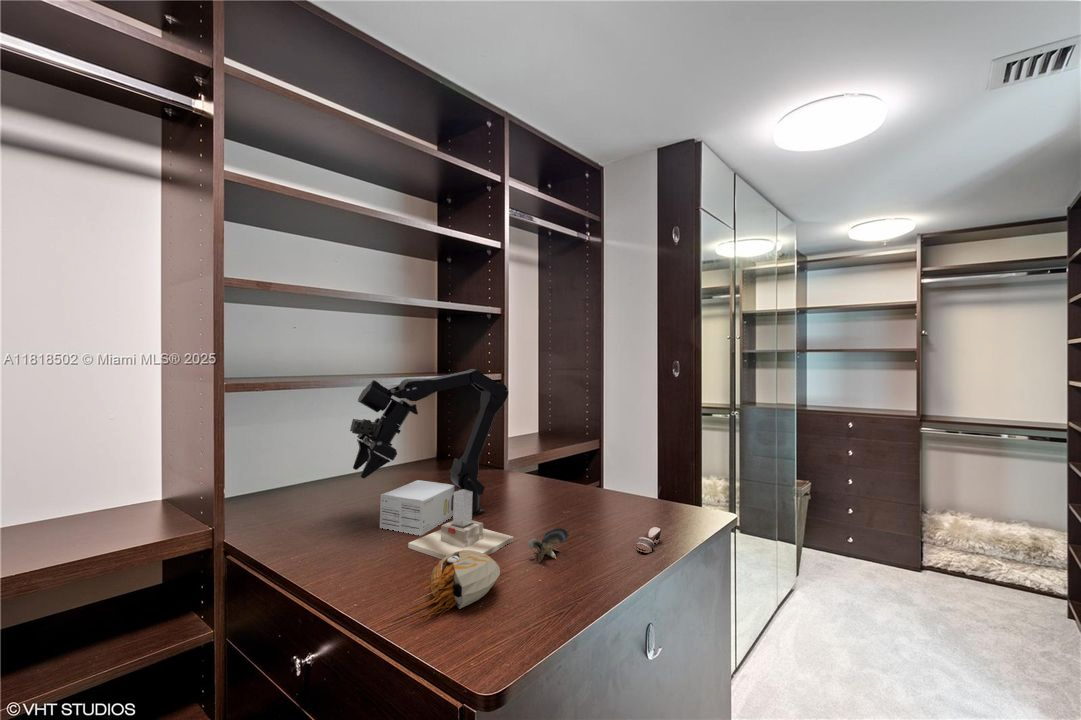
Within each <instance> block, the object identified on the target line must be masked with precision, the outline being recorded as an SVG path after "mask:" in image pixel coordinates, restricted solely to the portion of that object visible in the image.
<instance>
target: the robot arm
mask: <svg viewBox="0 0 1081 720" xmlns="http://www.w3.org/2000/svg"><path fill="white" fill-rule="evenodd" d="M467 385H472V386H473V387H474V388H475V389H476V390H478V391H479V392H481V394H480V397H479V398H480V399H479V405H480V409H479V411H478V414H477V417H476V420H475V422H474V425H473V428H472V429H471V430H472V431H471V433H470V436H469V439H468V441H467V444H466V446H465V450H464V452H463V455H461V457H460V458H459V459H458V458H453V460H452V461H453V462H452V466H451V468H450V469H449V472H450V474H449V476H450V477H449V478H450V480H451V482H452V484H453V485H455V488H456V489H457V490H458V491H459V490H462V489H464V490H468V491H473V494H472V517H475V516H477V515H479V514H482V513H483V512H485V509H483V508H481V496H482V495H483V494H484V491H485V489H486V488H485V486H484V485H483V484H482V483H481V482H480V481H479V480H478V477H479V472H480V470H479V461H480V457H481V454H482V451H483V449H484V446H485V443H486V440H487V437H488V436H489V432H490V430H491V427H492V424H493V421H494V419H495V416H496V414H497V413H498V412H499V410H500V409H501V408H502V407H503V406H504V404H505V403H506V400H507V398H508V396H509V390H508V387H507V386H506V385H505V384H504V383H501V382H496V381H495V380H494V379H493V378H490V377H489V376H487V375H486V374H484V373H483V372H481V371H480V370H478V369H474V368H469V369H468V370H464V371H460V372H455V373H450V374H445V375H441V376H440V375H439V376H437V377H431V378H420V377H419V378H405V379H403V380H401V382H400V383H399V385H397V386H394V387H391V388H387V387H385V386H383V385H382V384H380V382H378V381H376V380H373V379H372V381H371V382H370V383H369V384H368V385H366V387H365V388H363V389H362V390H361V393H360V394H359V396H358V397H357V402H358V403H359V404H361V405H364V406H365V407H367V408H369V409H370V410H373V411H374V412H376V413H379V412H380V411H381V412H383V411H384V412H383V413H382V415H381V416H380V417H377V418H376V419H374V421H371V420H370V419H365V418H364V419H358V418H357V419H356V418H353V419H352V420H351V425H350V430H349V431H350V432H351V433H352V434H355V435H357V436H356V438H358V439H356V442H357V443H358V451H357V453H356V457H355V460H354V464H353V467H352V468H353V470H355V471H358V470H359V469H360V468H361V467H362V466H363V465H364V464H365V465H364V467H363V469H362V472H361V473H360V478H361V479H363V480H365V479H366V478H367V477H369V476H370V475H372V474H373V473H374V472H376V471H377V470H379V469H380V468H382V467H383V466H385V465H386V464H388V463H390V462H391V461H394V460H395V459H396V458H397V455H398V452H397V449H396V448H394V447H393V444H392V441H393V439H394V438H395V436H396V435H397V434H398V435H399V434H400V433H401V431H402V430H401V427H402V425H403V423H404V422H405V420H406V419H407V418H408V416H409V414H410V413H411V414H414V415H415V416H416V415H418V414H419V412H418V409H417V404H415V403H412V404H410V403H408V402H407V401H410V402H418V401H421V400H423V399H425V398H427V397H429V396H431V395H433V394H435V393H437V392H440V391H446V390H449V389H455V388H459V387H463V386H467ZM392 397H393V398H392ZM394 398H397V399H400V400H399V401H397V400H396V399H394ZM405 400H407V401H405Z"/></svg>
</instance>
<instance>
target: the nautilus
mask: <svg viewBox="0 0 1081 720" xmlns="http://www.w3.org/2000/svg"><path fill="white" fill-rule="evenodd" d="M500 575H501V569H500V566H499V564H498V562H496V561H495V560H494V559H493V558H492V557H491V556H490V555H486V554H483V553H480V552H477V551H471V550H462V551H458V552H455V553H452V554H449V555H448V556H446V557H445V558H443V559H440V561H439V562H438V564H437V565H436V566H434V567H433V569H432V571H431V576H430V580H428V581H427V580H426V581H425V582H422V583H420V584H419V585H416V586H415V588H417V587H419V586H422V585H424V584H427V583H430V585H428V586H426V587H423V588H421V589H419V591H420V592H421V591H422V590H426V589H428V588H430V590H431V592H429V593H427V594H425V595H422V596H421V597H419V598H416V599H415V600H412V601H411V602H413V603H414V602H416V601H419V600H421V599H423V598H425V597H427V596H429V595H431V594H432V596H433V597H434V598H433V599H432V600H429V601H427V602H425V603H423V604H421V605H419V606H416V607H414V608H412V609H409V610H408V612H409V611H416V610H419V609H423V608H425V607H427V606H429V605H431V604H433V603H438V602H439V603H438V604H437V605H435V606H433V607H432V608H430V609H427V610H426V611H423V612H419V614H416V616H417V617H414V618H411V621H414V620H416V619H420V618H422V617H425V616H428V617H427V618H426V619H425V620H424V621H427V620H428V619H429V618H430V617H431V616H432V615H437V614H440V613H441V612H442V613H441V614H440V615H439V616H438V618H440V617H441V616H442V615H443V614H444V613H445V612H446V611H449V610H450V609H452V608H453V607H455V606H457V608H458V609H459V610H460V609H462V608H465V607H467V606H469V605H471V604H473V603H475V602H477V601H478V600H480V599H481V598H483V597H484V596H486V595H487V593H488V592H489V591H490V589H492V588H493V586H494V585H495V583H496V582H497V579H498V578H499V576H500ZM444 603H445V604H444ZM443 604H444V605H443ZM447 608H448V609H447ZM440 609H441V610H440ZM439 610H440V611H439Z"/></svg>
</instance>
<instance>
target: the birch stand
mask: <svg viewBox="0 0 1081 720" xmlns="http://www.w3.org/2000/svg"><path fill="white" fill-rule="evenodd" d="M511 542H512V543H514V536H512V535H509V534H505V533H501V532H497V531H493V530H490V529H487V528H484V523H483V522H481V521H476V520H473V519H472V525H471V526H468V527H466V528H464V529H462V528H459V527H455V526H453V520H451V521H449V522H446V523H443V524H440V529H439V530H437V531H434V532H432V533H429V534H427V535H424V536H422V537H421V536H420V537H419V538H417V539H415V540H412V541H410V542H408V543H407V545H408V546H407V547H408V549H410V550H413V551H416V552H419V553H421V554H425V555H428V556H431V557H434V558H436V559H440V560H442V559H443V558H445V557H446V556H448V555H449V554H452V553H455V552H458V551H462V550H471V551H477V552H480V553H483V554H486V555H488V556H490V555H492V554H493V553H495V552H497V551H499V550H501V549H502V548H504V547H506V546H508V545H510V544H511ZM509 543H510V544H509ZM507 544H508V545H507ZM505 545H506V546H505ZM500 548H501V549H500Z"/></svg>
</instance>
